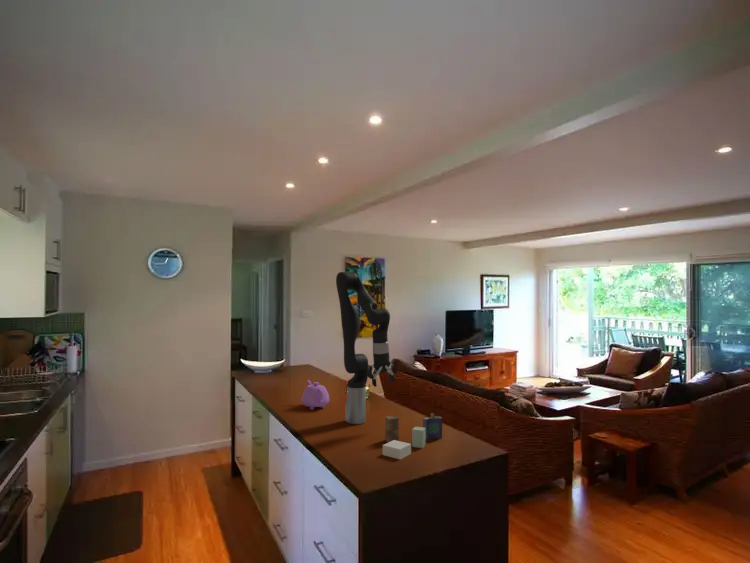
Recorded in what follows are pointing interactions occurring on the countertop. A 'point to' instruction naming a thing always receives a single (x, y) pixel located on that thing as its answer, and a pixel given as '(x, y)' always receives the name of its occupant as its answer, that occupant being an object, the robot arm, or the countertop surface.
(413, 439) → the sage block
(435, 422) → the flask
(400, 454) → the base block
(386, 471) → the countertop surface
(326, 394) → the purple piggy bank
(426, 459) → the countertop surface
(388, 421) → the walnut pillar
